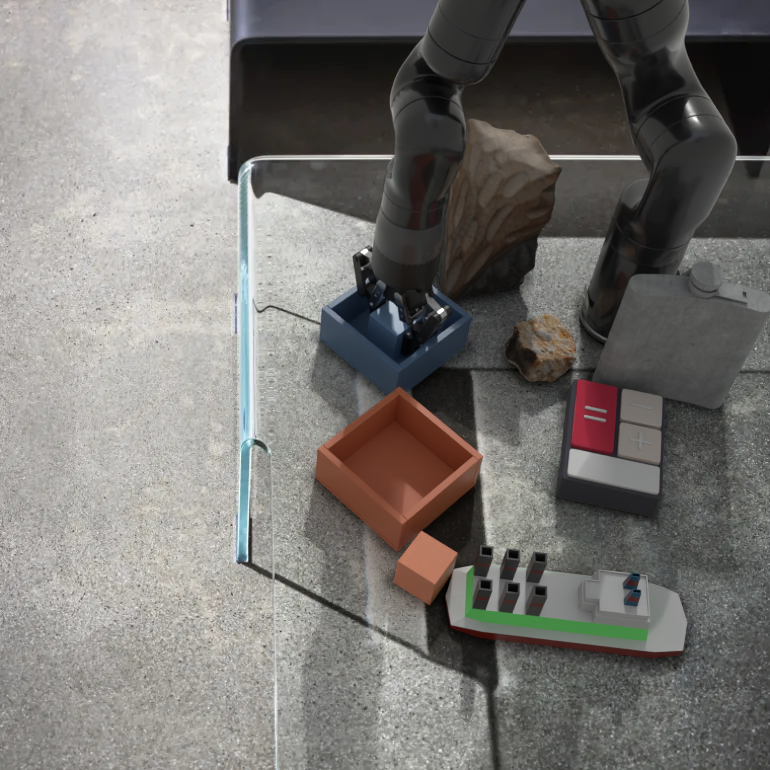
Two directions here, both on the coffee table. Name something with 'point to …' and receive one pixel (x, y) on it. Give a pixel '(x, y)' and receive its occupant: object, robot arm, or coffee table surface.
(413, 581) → the terracotta block
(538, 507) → the coffee table surface
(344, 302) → the blue bin
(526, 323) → the rock
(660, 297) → the hip flask
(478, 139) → the tall brown boulder
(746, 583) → the coffee table surface
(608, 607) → the toy boat
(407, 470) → the terracotta bin
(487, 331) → the coffee table surface
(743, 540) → the coffee table surface
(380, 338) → the blue block
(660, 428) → the calculator
